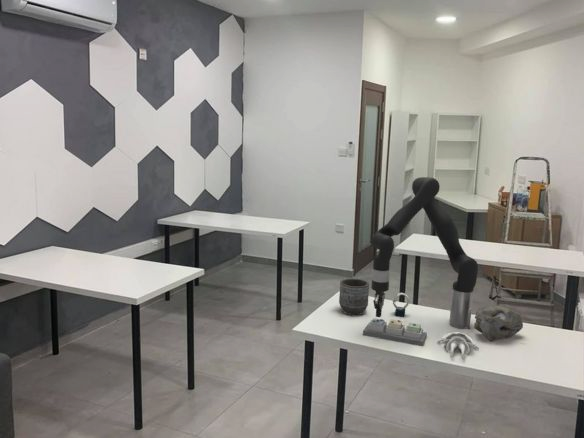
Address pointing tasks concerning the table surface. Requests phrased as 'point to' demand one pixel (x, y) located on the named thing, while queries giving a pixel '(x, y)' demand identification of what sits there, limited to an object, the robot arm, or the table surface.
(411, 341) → the keypad
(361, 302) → the planter
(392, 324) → the button two
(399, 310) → the watch
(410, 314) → the table surface
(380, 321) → the button three
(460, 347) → the figurine
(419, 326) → the button one
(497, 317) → the fossil
